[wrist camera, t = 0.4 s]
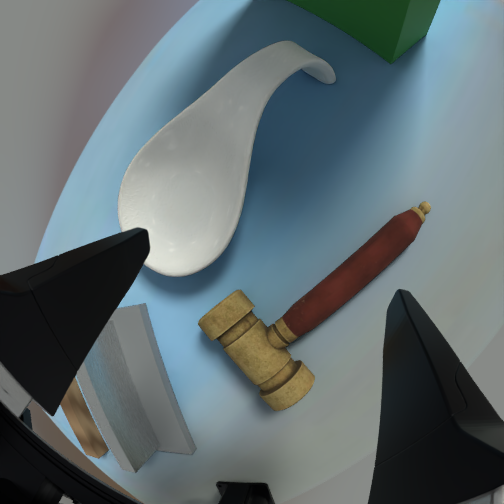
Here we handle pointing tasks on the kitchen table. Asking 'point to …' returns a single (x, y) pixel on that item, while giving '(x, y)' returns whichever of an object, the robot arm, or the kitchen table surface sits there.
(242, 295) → the gavel
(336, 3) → the hardback book
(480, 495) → the robot arm
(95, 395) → the steel ridge
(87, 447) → the walnut batten
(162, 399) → the board
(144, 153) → the spoon rest
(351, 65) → the kitchen table surface
